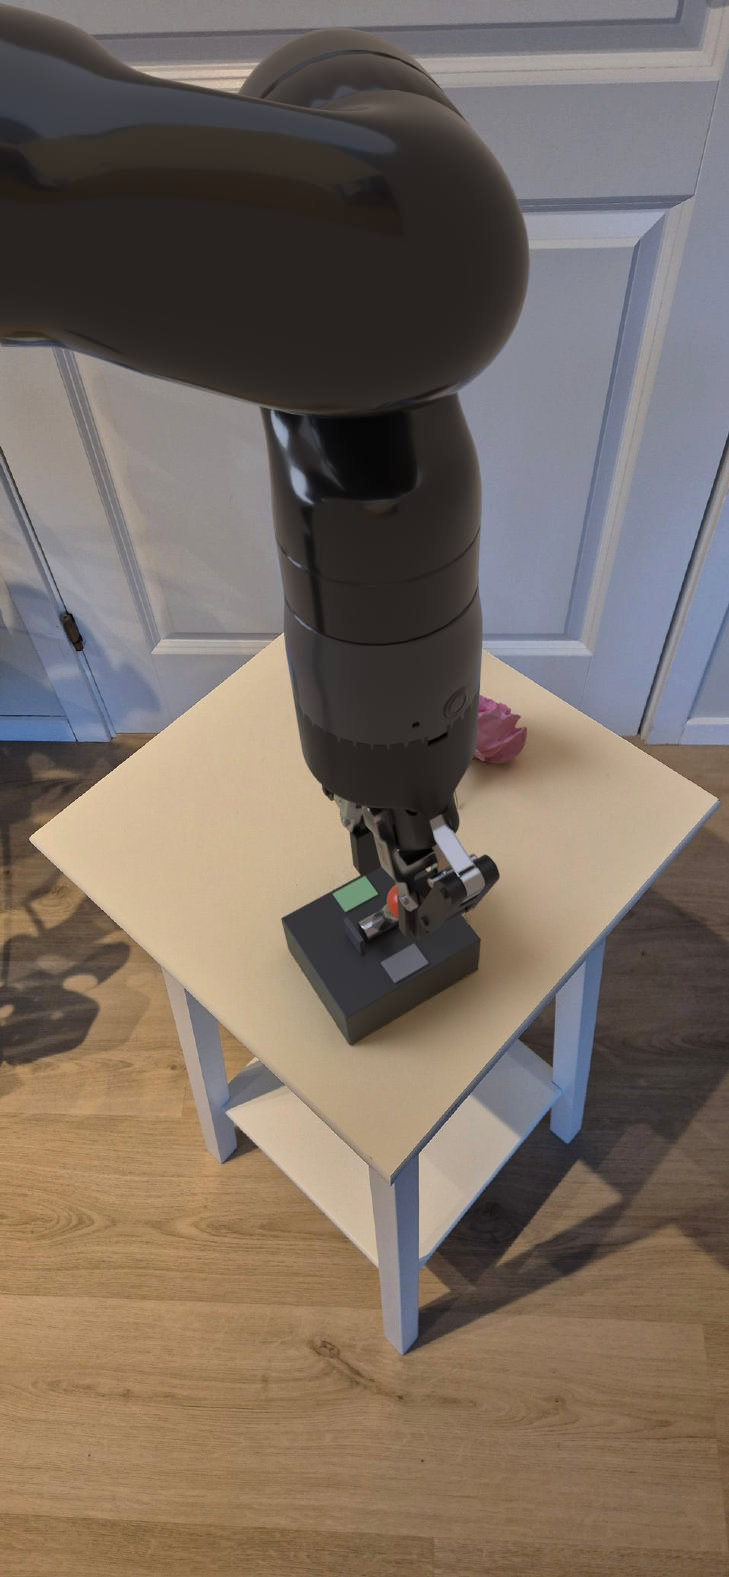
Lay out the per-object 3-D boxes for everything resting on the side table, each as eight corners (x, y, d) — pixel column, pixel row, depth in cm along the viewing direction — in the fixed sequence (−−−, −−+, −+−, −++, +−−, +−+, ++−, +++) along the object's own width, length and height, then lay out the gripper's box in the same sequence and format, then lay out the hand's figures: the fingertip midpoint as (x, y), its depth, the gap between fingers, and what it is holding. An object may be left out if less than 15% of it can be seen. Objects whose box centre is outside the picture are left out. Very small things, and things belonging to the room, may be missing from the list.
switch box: (350, 1046, 77) (343, 1006, 71) (287, 948, 82) (277, 904, 76) (478, 969, 80) (482, 926, 74) (410, 880, 85) (409, 834, 80)
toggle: (368, 948, 76) (401, 926, 65) (352, 918, 77) (381, 891, 65) (402, 929, 77) (439, 904, 66) (385, 900, 78) (419, 870, 66)
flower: (422, 741, 99) (468, 655, 95) (498, 801, 95) (551, 713, 91) (355, 755, 90) (403, 660, 85) (437, 822, 86) (491, 726, 81)
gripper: (220, 602, 42) (272, 835, 56) (401, 833, 34) (410, 1038, 48) (371, 537, 44) (386, 776, 58) (575, 741, 37) (536, 962, 50)
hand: (397, 894), depth 53 cm, fingers open, 4 cm apart
